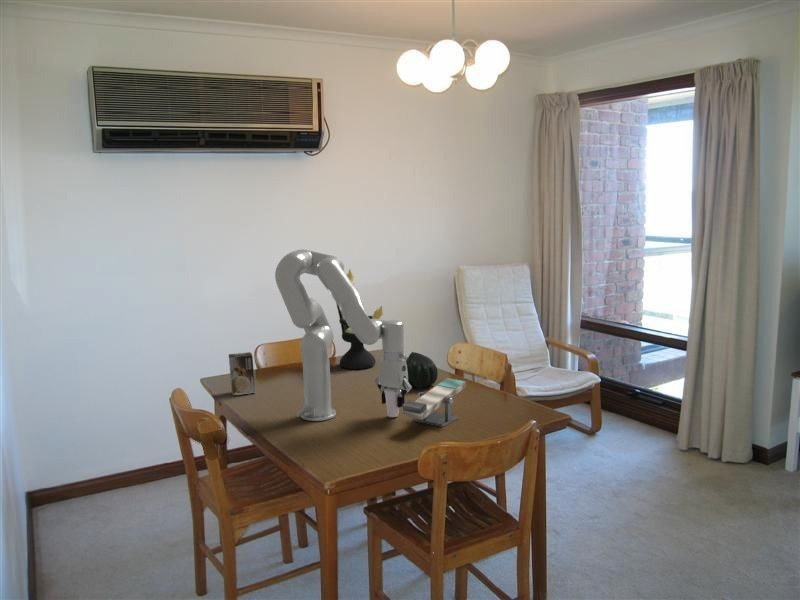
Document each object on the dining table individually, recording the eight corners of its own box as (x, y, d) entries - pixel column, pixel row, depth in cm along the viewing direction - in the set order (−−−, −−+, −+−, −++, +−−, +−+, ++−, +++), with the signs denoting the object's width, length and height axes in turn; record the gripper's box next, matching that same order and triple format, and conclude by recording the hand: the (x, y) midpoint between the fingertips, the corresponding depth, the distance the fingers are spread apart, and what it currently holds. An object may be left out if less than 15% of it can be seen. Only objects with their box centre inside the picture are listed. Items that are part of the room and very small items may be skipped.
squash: (447, 376, 268) (432, 344, 275) (415, 383, 261) (401, 350, 268) (434, 391, 279) (420, 361, 286) (403, 399, 272) (390, 367, 278)
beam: (422, 419, 218) (420, 408, 217) (402, 415, 223) (401, 404, 222) (466, 386, 241) (465, 376, 240) (447, 383, 245) (446, 373, 244)
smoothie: (401, 412, 240) (401, 375, 238) (402, 418, 234) (402, 380, 232) (383, 412, 240) (383, 375, 238) (383, 418, 234) (384, 380, 232)
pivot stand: (444, 427, 225) (444, 402, 224) (411, 420, 233) (410, 395, 231) (459, 419, 233) (459, 394, 232) (427, 412, 241) (426, 388, 239)
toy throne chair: (358, 373, 296) (355, 272, 288) (322, 366, 309) (318, 270, 302) (385, 364, 310) (382, 268, 303) (349, 357, 324) (346, 265, 317)
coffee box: (253, 389, 274) (251, 351, 271) (255, 394, 268) (253, 355, 265) (230, 392, 271) (228, 353, 268) (232, 396, 265) (229, 357, 262)
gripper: (419, 357, 232) (418, 406, 234) (379, 350, 242) (380, 397, 244) (406, 361, 226) (406, 412, 228) (367, 354, 236) (367, 402, 238)
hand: (392, 404), depth 236 cm, fingers closed on smoothie, 6 cm apart
